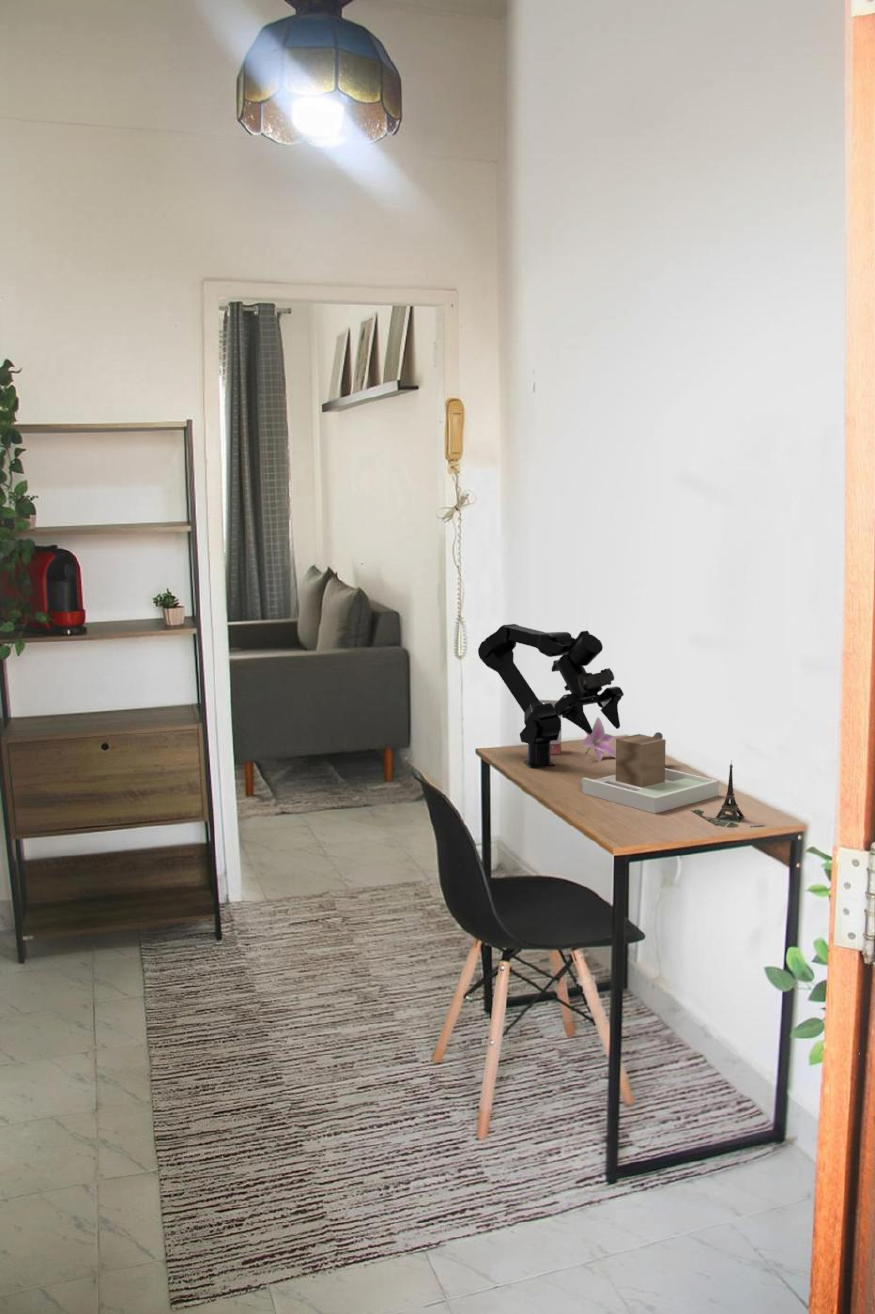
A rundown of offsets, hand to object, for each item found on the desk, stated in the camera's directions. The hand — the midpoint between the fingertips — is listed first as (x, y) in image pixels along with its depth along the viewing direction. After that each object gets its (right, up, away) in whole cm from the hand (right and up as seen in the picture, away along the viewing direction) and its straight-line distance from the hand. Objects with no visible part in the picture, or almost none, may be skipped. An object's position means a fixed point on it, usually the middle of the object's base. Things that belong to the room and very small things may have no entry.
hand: (605, 730), depth 263 cm
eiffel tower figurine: (+22, -18, -27) cm, 39 cm away
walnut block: (+7, -11, -6) cm, 15 cm away
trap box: (+9, -14, -8) cm, 19 cm away
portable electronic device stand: (+14, -11, +17) cm, 24 cm away
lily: (+2, -9, +27) cm, 29 cm away
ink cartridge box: (-11, -8, +35) cm, 37 cm away
